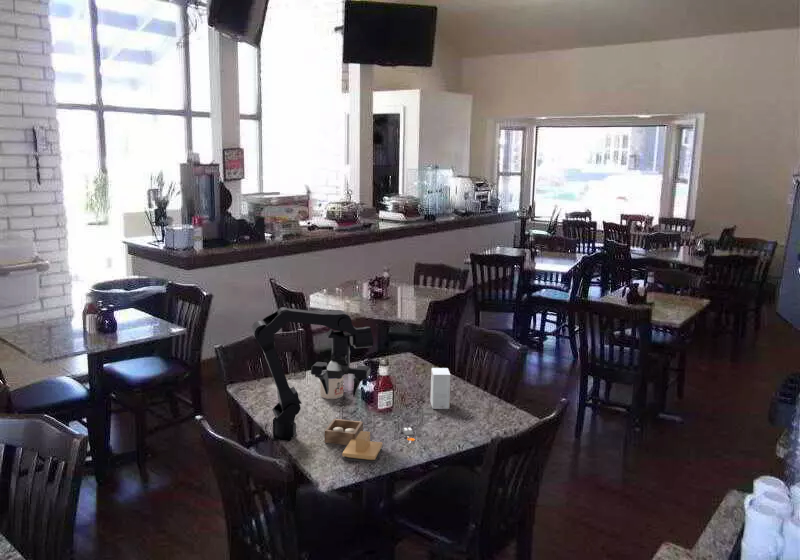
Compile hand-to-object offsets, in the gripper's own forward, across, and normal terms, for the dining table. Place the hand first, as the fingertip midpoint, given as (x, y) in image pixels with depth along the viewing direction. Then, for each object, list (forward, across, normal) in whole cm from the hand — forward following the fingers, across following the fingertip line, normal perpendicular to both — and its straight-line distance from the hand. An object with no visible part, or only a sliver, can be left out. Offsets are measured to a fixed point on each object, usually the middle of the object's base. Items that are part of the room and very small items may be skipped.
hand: (340, 395), depth 221 cm
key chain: (+13, +24, 0) cm, 27 cm away
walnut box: (+12, +3, -6) cm, 14 cm away
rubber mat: (+12, +12, -16) cm, 24 cm away
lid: (+12, +12, -16) cm, 23 cm away
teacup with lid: (+12, -12, +31) cm, 35 cm away
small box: (+12, +29, +30) cm, 44 cm away
